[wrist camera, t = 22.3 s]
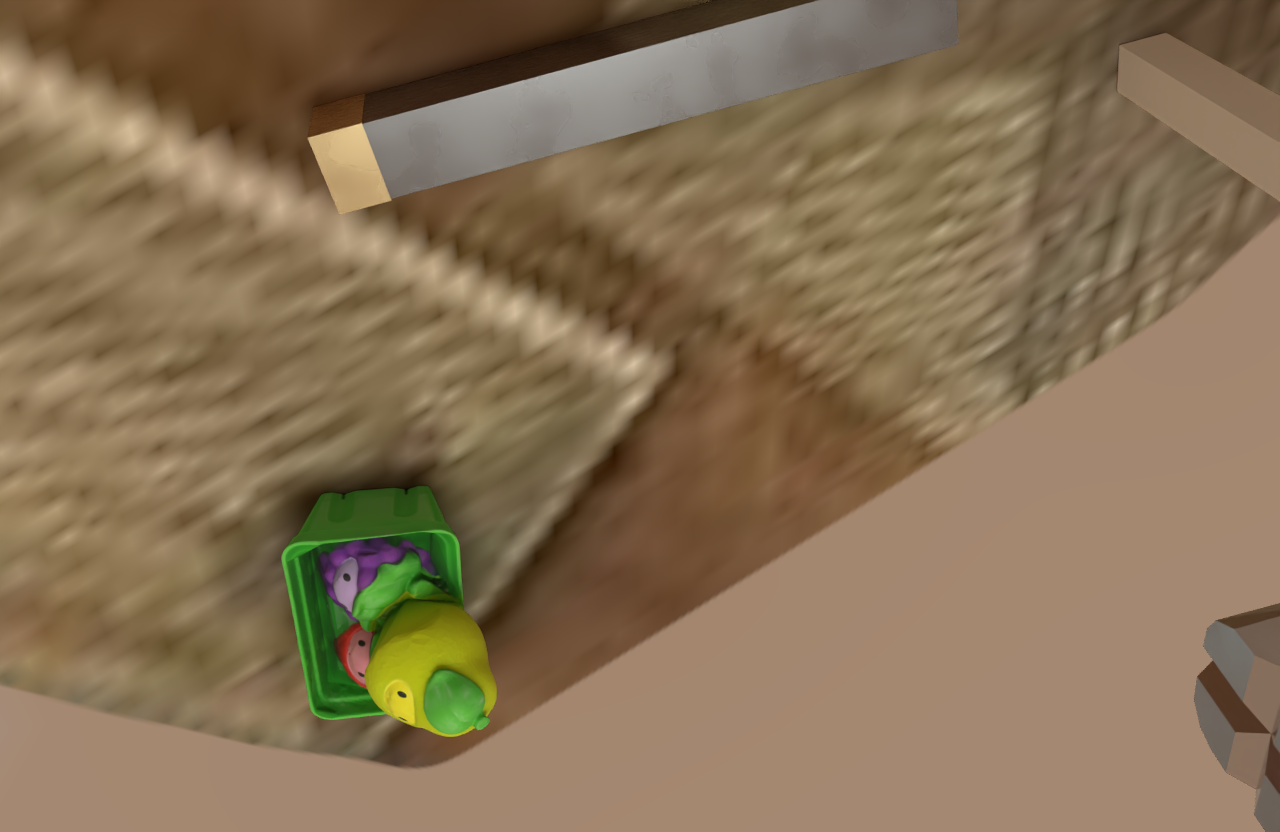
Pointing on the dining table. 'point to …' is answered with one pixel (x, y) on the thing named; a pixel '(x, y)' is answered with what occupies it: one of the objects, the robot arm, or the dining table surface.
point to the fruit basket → (386, 613)
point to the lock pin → (607, 88)
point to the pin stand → (1206, 105)
